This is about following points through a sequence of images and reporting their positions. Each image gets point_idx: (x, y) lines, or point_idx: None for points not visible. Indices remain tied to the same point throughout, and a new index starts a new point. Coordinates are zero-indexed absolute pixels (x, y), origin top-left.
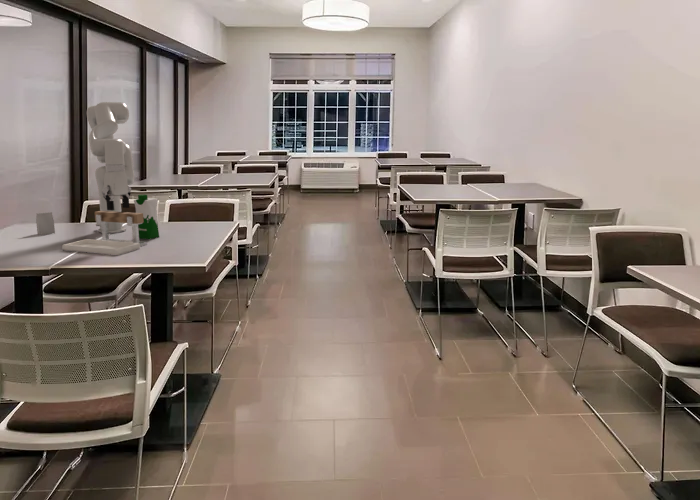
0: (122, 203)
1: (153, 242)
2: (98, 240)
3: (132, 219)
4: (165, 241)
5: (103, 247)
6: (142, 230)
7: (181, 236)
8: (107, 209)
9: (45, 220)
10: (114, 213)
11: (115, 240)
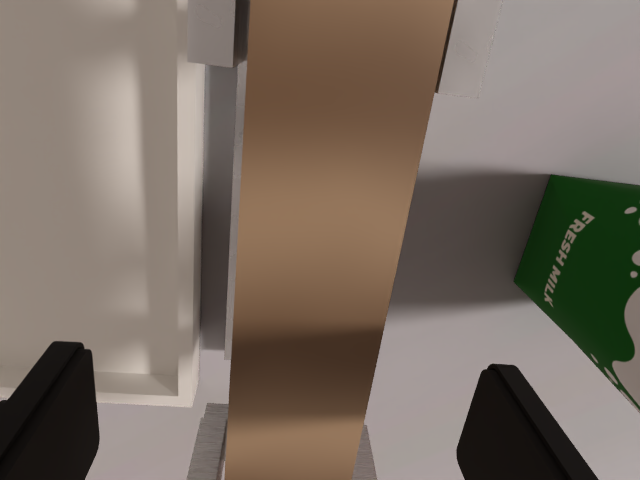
0: (515, 425)
1: (409, 352)
2: (177, 45)
3: None
4: (451, 397)
5: (95, 165)
6: (552, 266)
7: (623, 403)
8: (52, 350)
9: None
10: (234, 321)
11: None
